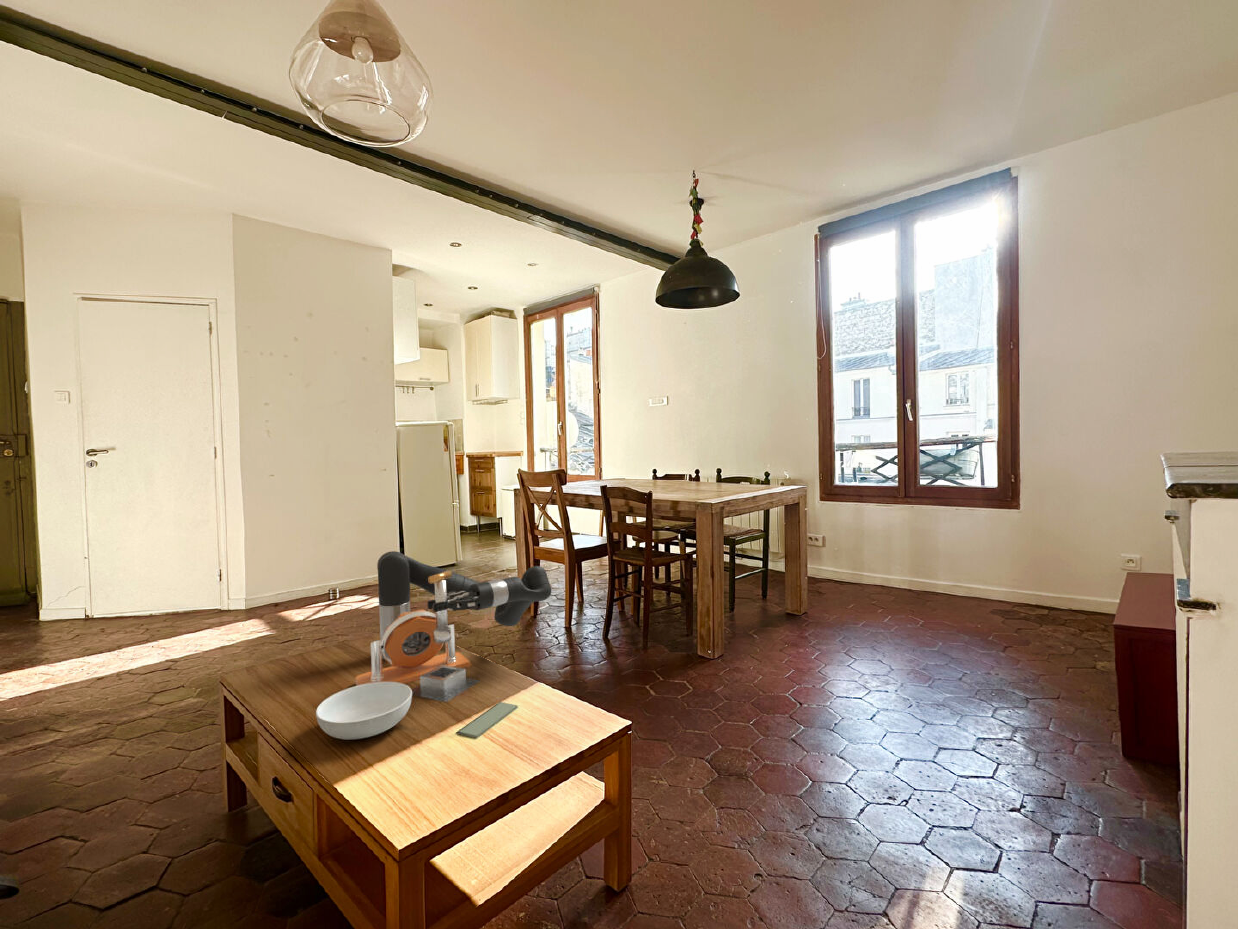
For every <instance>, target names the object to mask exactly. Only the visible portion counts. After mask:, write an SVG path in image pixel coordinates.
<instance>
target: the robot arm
mask: <svg viewBox="0 0 1238 929" xmlns="http://www.w3.org/2000/svg"><path fill="white" fill-rule="evenodd" d="M376 566H377V568H376V569H377V578H378V579H377V580H378V582H377V583H378V584H377V585H378V609H379V630H380V631H379V632H380V633H379V634H380V635H379V636H380V640H381V642H382V639H383V636H384V634H385V630H386V628H387V627H388V626H389V625H391V624H392V623H393V622H394V621H395V620H396V619H397V618H398V617H399V615H400V614H402V613H408V612H411V596H410V595H411V584H412V585H415V586H417V587H418V588H421V589H422V590H424V591H426V592H428V593H430V594H432V595H434V596H435V583H432V584H430V583H429V582H428V577H430V576H433V575H436V574H439V573H442V572H446V571H448V570H447V569H443V568H440V567H437V566H433V565H432V566H431V565H429V564H425V563H423V562H420V561H418V560H415V559H414V558H412V557H409V556H408V555H406V554H403V553H402V552H399V551H393V550H392V551H388V552H385V553H383V554H382V555H381V556H380V557H379V558H378V561H377V565H376ZM451 573H452V576H451V577H450V578H447V579H445V580H446V594H447V601H443V602H438V603H435V599H430V600H427V609H428V610H432V611H433V612H434V613H436V612H438V611H442V610H447V611H453V612H456V611H458V612H459V611H465V610H474V611H481V610H485V609H490V608H494V607H495V611H494V616H493V617H494V620H495V622H496V623H498V624H499V625H500V626H501V625H502V626H505V627H515V626H517V625H518V624H519V623H520V621H521V619H522V617H523V615H524V614H525V612H527V610H528V608H530V606H531V605H532V604H533V603H534V602H543V601H545V600H548V599H549V598H550V597H551V595H552V587H551V584H550V580H549V577H548V575H547V571H546V570H545V568H544V567H542V566H539V565H533V566H531V567H529V568H528V569H526V571H524V573H523V574H522V576H521V578H520V577H519V576H511V577H506V578H502V579H491V580H486V581H482V582H480V581H477V580H475V579H472V578H470V577H467V576H465V575H461V573H460V574H459V573H457V572H454V571H451ZM384 653H385V656H386V657H387V658H388V659H390V657H389V656H388V654H387V652H386V650H385V648H384ZM382 660H385V661H386V659H385V658H384V656H383V654H382ZM390 660H391V659H390Z"/></svg>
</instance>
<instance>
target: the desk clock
mask: <svg viewBox="0 0 1238 929" xmlns="http://www.w3.org/2000/svg"><path fill="white" fill-rule="evenodd" d="M448 627H449V628H450V629H451V640H450V641H449V642H446V643H435V642H434V630H435V629H436V612H434V613H433V612H431V611H427V610H425V609H418V610H414V611H410V612H408V613H402V614H400V615H399V617H398V618H397V619H396V620H395V621H394V622H393V623H392V624H391V625H389V626H388V627H387V628H386V630H385V634H384V636H383V639H382V642H381V639H379V640H374V641H372V642H370V658H371V659H370V663H371V664H370V665H371V671H368V672H364V673H362V674H359V675H356V677H355V686H358V685H362V684H367V683H374V682H397V683H402V684H408V683H411V682H414V681H420V676H421V675H423V674H425V673H427V672H429V671H431V670H433V669H435V668H437V667H439V666H440V665H446V666H452V667H458V668H463V669H466V668H468V667H471V664H472V663H471V661H470V660H469V659H468V658H467V657H465V655H463V654H462V653H460V652H457V651H456V644H455V643H456V642H455V641H456V639H455V638H456V637H455V624H448ZM444 644H445V653H442V654H438V653H439V652H440V651H441V649H442V648H443V646H444ZM384 648H385V650H386V652H387V654H388V656H389V657H390V659H391V660H390V659H388V658H387V657H386V656H385V653H384ZM382 654H383V656H384V658H385V659H386V660H385V659H384V660H385V661H386V662H387V663H388V664H389V665H390V666H388V667H385V668H383V659H382ZM437 654H438V655H437Z"/></svg>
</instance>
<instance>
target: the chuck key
mask: <svg viewBox="0 0 1238 929" xmlns="http://www.w3.org/2000/svg"><path fill="white" fill-rule="evenodd" d="M451 572H452V570H447V571H446V572H442V573H439V574H436V575H433V576H430V577H428V582H429V583H430V584H432V583H435V595H434V600H435V603H438V602H443V601H447V594H446V580H445V579H447V578H450V577H451V576H452V573H451ZM435 614H436V629H435V630H434V642H435V643H444V644H445V643H446V642H449V641H450V640H451V629H450V628H449V627H448V625H449V624H448V623H449V622H448V620H449V619H448V610H442V611H438V612H435Z"/></svg>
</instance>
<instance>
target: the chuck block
mask: <svg viewBox="0 0 1238 929" xmlns="http://www.w3.org/2000/svg"><path fill="white" fill-rule="evenodd" d="M466 674H467V672H466V668H458V667H452V666H446V665H440V666H439V667H437V668H435V669H433V670H431V671H429V672H427V673H425V674H423V675H421V676H420V679H419V681H420V685H418V686H416V687H414V688H412V689H411V690H412V696H415V697H420V698H423V699H430V700H433V701H438V702H442V703H447V702H448V701H450V700H452V699H454V698H455V697H457V696H458V695H460V694H461V693H463V692H465V691H467V690H468V689H470V688H472V687H473V686H474V685H476V684H478V683H479V682H481V680H478V679H474V678H469V677H467V675H466Z"/></svg>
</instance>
